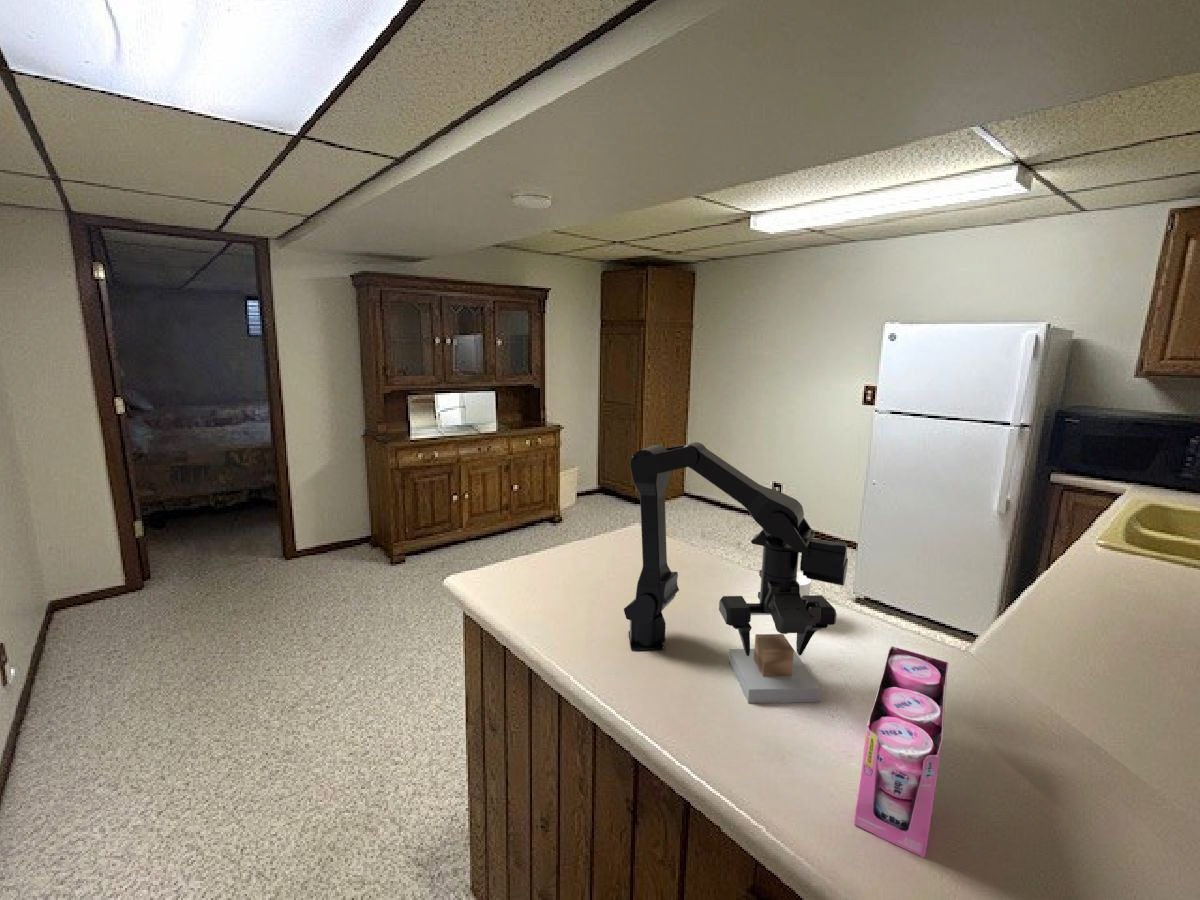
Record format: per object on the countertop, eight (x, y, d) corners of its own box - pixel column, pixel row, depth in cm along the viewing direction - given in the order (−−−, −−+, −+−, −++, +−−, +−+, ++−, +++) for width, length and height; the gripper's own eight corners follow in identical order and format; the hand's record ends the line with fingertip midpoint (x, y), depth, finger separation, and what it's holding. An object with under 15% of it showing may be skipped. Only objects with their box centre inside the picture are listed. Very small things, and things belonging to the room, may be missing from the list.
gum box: (925, 870, 60) (940, 766, 57) (850, 834, 64) (860, 735, 62) (938, 744, 79) (950, 661, 77) (879, 722, 84) (888, 644, 81)
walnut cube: (762, 676, 91) (764, 649, 90) (753, 659, 96) (755, 634, 95) (791, 675, 91) (793, 649, 90) (781, 659, 96) (783, 634, 95)
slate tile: (748, 702, 88) (749, 689, 88) (729, 661, 100) (729, 648, 99) (819, 701, 88) (820, 688, 88) (792, 660, 100) (793, 648, 100)
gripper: (738, 593, 82) (733, 683, 85) (857, 592, 83) (847, 682, 86) (720, 564, 93) (716, 645, 96) (825, 563, 94) (818, 644, 96)
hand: (773, 654), depth 93 cm, fingers open, 9 cm apart
